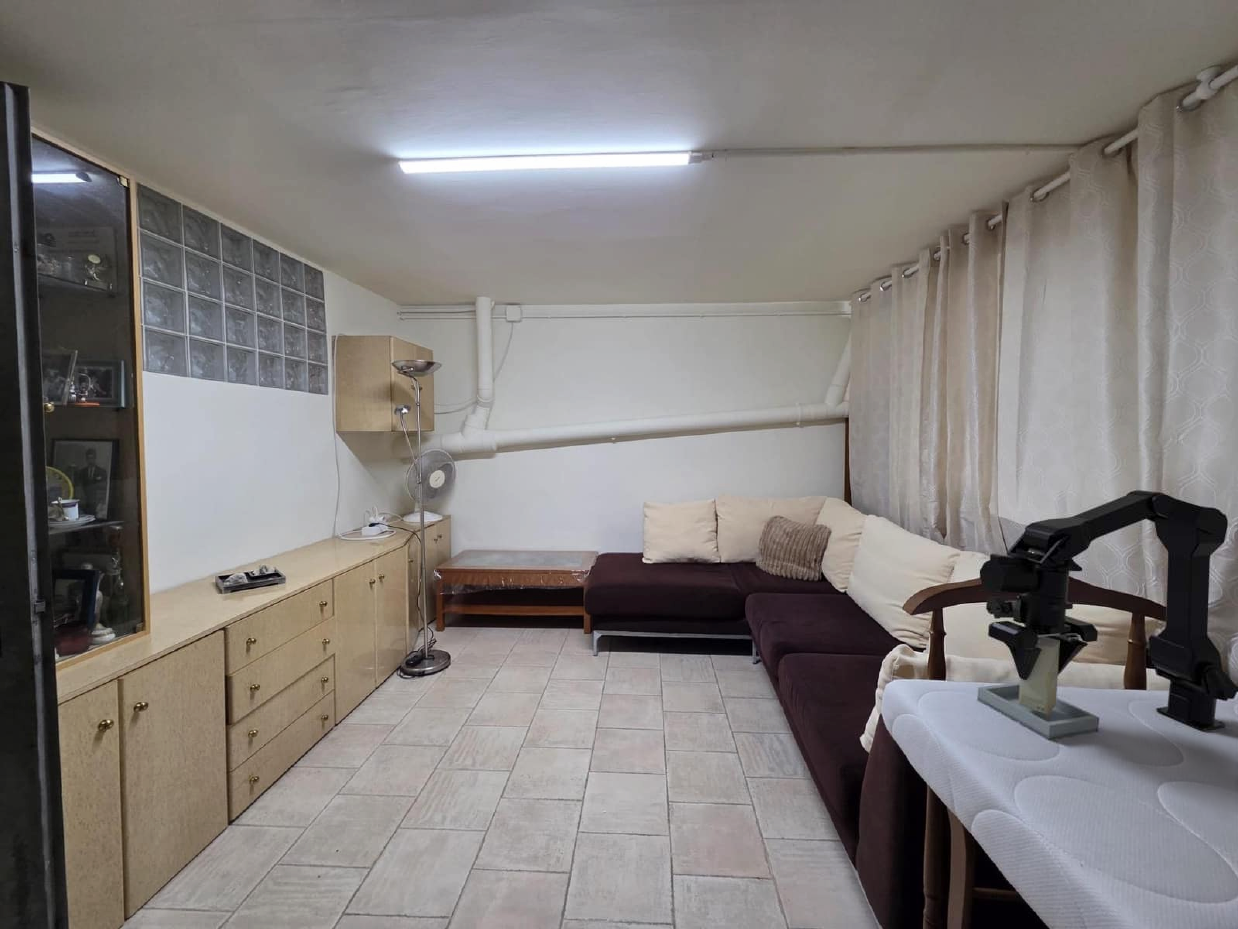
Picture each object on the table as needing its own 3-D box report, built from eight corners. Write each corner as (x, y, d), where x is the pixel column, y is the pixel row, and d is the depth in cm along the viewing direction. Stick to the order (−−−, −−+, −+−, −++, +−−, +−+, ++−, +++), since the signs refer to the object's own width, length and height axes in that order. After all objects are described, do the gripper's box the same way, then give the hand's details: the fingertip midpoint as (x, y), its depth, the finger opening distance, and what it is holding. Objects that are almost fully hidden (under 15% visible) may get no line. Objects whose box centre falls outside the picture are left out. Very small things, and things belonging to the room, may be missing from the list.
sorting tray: (1023, 694, 98) (1024, 681, 98) (1098, 731, 86) (1099, 717, 86) (977, 700, 96) (978, 687, 95) (1048, 739, 83) (1049, 725, 83)
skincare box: (1048, 716, 87) (1054, 649, 86) (1016, 705, 90) (1021, 640, 90) (1056, 704, 91) (1061, 640, 90) (1025, 694, 94) (1030, 632, 94)
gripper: (1037, 578, 100) (1030, 653, 101) (963, 582, 95) (957, 661, 96) (1103, 596, 89) (1095, 680, 90) (1024, 602, 84) (1016, 691, 85)
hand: (1038, 677), depth 90 cm, fingers closed on skincare box, 7 cm apart
